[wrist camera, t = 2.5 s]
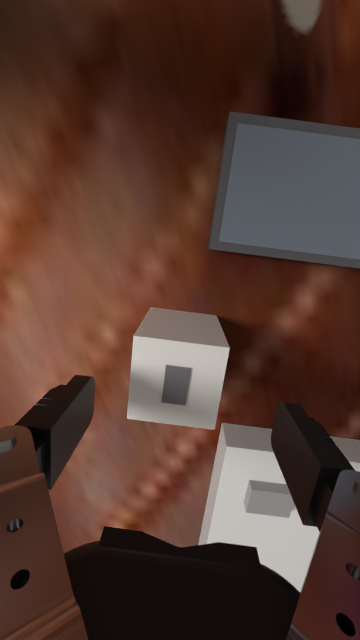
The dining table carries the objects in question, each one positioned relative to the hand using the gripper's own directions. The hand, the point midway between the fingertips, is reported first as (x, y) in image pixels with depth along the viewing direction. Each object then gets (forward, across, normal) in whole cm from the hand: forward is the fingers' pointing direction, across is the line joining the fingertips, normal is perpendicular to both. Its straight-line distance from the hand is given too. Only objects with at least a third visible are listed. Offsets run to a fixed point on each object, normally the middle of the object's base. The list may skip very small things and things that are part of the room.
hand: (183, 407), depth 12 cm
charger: (+8, 0, 0) cm, 8 cm away
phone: (+8, -8, -10) cm, 15 cm away
